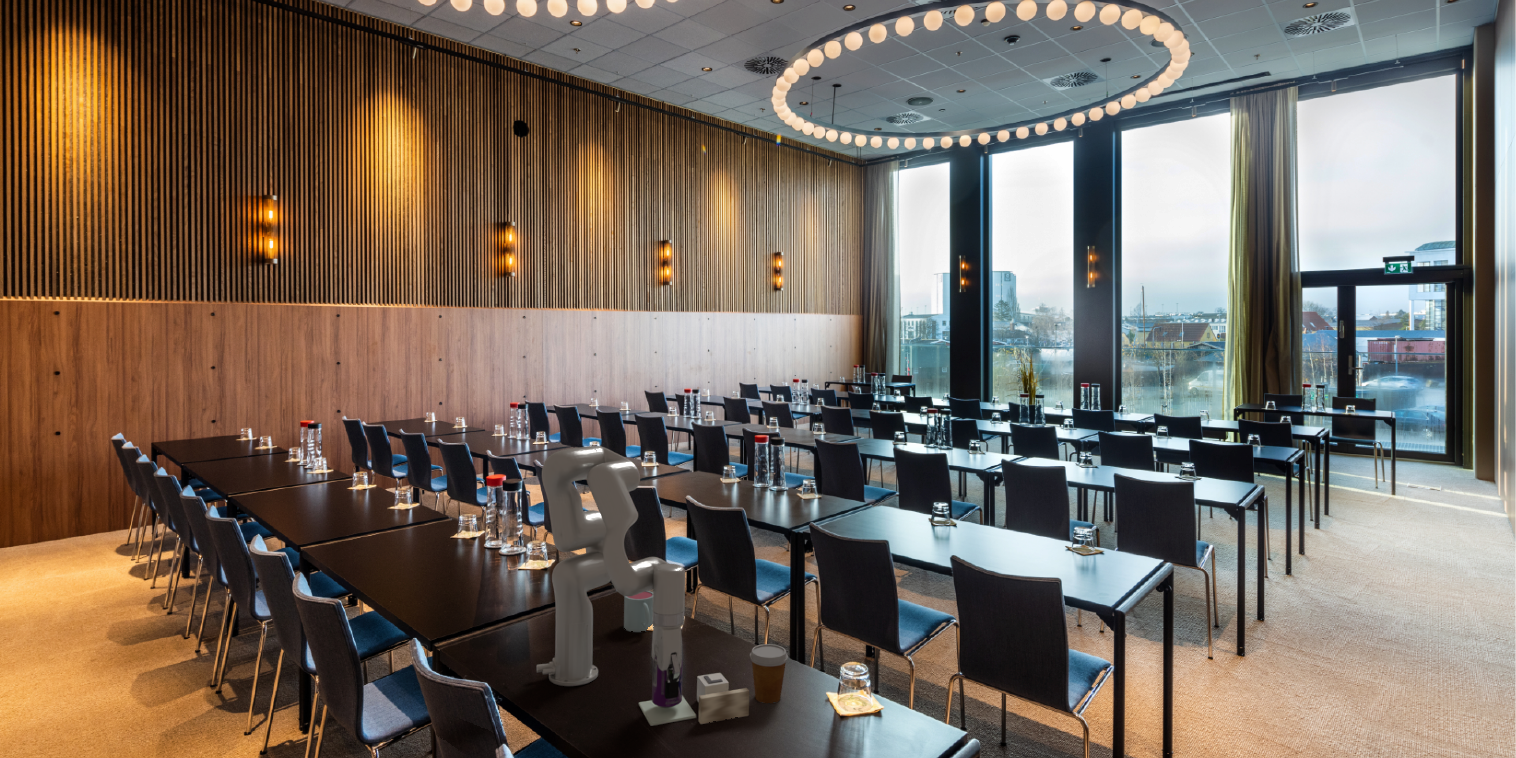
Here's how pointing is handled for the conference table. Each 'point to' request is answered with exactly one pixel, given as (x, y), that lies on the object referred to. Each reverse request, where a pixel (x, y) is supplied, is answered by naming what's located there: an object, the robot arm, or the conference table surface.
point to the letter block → (711, 684)
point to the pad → (666, 712)
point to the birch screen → (723, 705)
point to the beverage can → (659, 687)
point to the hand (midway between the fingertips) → (666, 689)
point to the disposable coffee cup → (768, 671)
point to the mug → (638, 611)
